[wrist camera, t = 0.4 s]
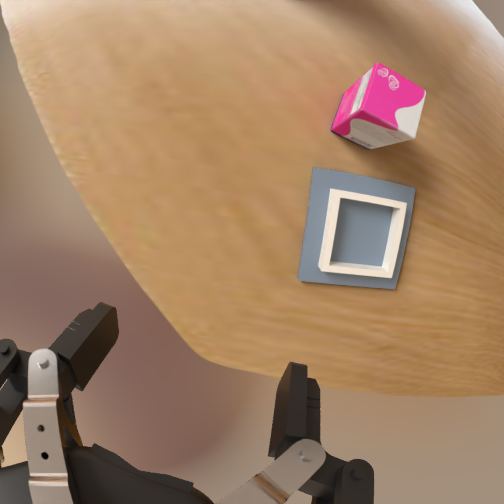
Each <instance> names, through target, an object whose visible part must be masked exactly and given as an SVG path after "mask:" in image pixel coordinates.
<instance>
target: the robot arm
mask: <svg viewBox="0 0 504 504" xmlns="http://www.w3.org/2000/svg"><path fill="white" fill-rule="evenodd" d="M118 334H119V328H118V319H117V310H116V308H115V307H112V306H110V305H107V304H105V303H102V302H100V303H99V304H98V305H97V306H96V307H95V308H94V309H93V310H91V309H88V310H86V311H84V312H82V313H80V314H79V315H78V316H77V317H76V318H75V319H74V321H73V322H72V323H71V324H70V325H69V326H68V328H66V329H65V330H64V331H63V333H62V334H61V335H60V336H59V337H58V338H57V339H56V341H55V342H54V343H53V344H52V345H51V347H49V348H48V349H39V350H37V351H35V352H33V353H30V352H26V351H22V350H19V349H18V348H17V346H16V344H15V343H14V341H12V340H10V339H2V340H0V388H1V387H2V385H3V384H4V382H5V381H6V379H7V382H6V383H5V384H4V386H3V387H2V389H1V390H0V504H214V503H213V502H212V501H211V500H210V499H209V498H208V497H207V496H206V495H205V494H204V493H202V492H201V491H199V490H197V489H196V488H194V487H193V483H192V482H189V481H185V480H182V479H179V478H176V477H173V476H170V475H166V474H158V473H151V472H145V471H140V470H137V469H136V468H135V467H133V466H132V465H130V464H129V463H128V462H126V461H125V460H124V459H122V458H121V457H120V456H118V455H117V454H115V453H113V452H111V451H109V450H107V449H104V448H103V447H101V446H99V445H97V444H93V446H92V447H86V446H83V443H82V440H81V437H80V435H79V432H78V429H77V425H76V418H75V412H74V405H73V398H72V393H71V392H72V390H73V389H74V388H77V389H78V390H80V391H83V390H84V388H85V386H86V385H87V383H88V382H89V380H90V379H91V377H92V376H93V375H94V373H95V372H96V370H97V369H98V367H99V366H100V364H101V363H102V361H103V360H104V358H105V357H106V355H107V354H108V353H109V351H110V350H111V348H112V347H113V346H114V344H115V343H116V341H117V338H118ZM22 410H23V417H24V431H25V443H26V451H27V458H28V461H25V462H22V463H18V464H15V465H11V466H7V467H3V468H2V467H1V463H3V462H4V455H3V449H2V445H3V443H4V441H5V439H6V437H7V435H8V434H9V432H10V430H11V428H12V426H13V425H14V423H15V421H16V420H17V418H18V416H19V415H20V413H21V411H22ZM268 456H269V457H275V460H274V462H273V463H271V464H270V465H269V466H268V467H266V468H265V469H264V470H263V471H261V472H260V473H259V474H257V475H255V476H254V477H252V478H251V479H250V480H248V481H247V482H245V483H244V484H243V485H241V486H240V487H238V488H237V489H236V490H234V491H233V492H232V493H230V494H228V495H227V496H225V497H224V498H223V499H221V500H220V501H218V502H216V503H215V504H284V503H285V502H286V501H287V499H288V498H289V497H290V496H291V495H292V494H293V493H294V492H296V491H297V490H299V491H301V492H304V493H306V494H309V495H312V502H311V504H373V503H374V471H373V468H372V466H371V465H370V464H369V463H368V462H367V461H365V460H362V459H354V460H351V461H349V462H346V461H344V460H341V459H338V458H336V457H333V456H331V455H330V454H328V453H327V452H326V451H325V450H324V448H323V447H322V445H321V442H320V388H319V386H318V384H317V381H316V379H312V378H307V365H303V364H298V363H294V362H289V364H288V366H287V368H286V370H285V372H284V374H283V376H282V378H281V380H280V382H279V385H278V388H277V393H276V400H275V409H274V416H273V424H272V431H271V438H270V445H269V452H268Z"/></svg>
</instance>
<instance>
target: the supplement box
mask: <svg viewBox="0 0 504 504" xmlns="http://www.w3.org/2000/svg"><path fill="white" fill-rule="evenodd" d="M425 96H426V91H425V90H424V89H422V88H421V87H419V86H418V85H416V84H414V83H413V82H411V81H410V80H408V79H406V78H405V77H403V76H401V75H400V74H398V73H396V72H394V71H393V70H391V69H389V68H387V67H386V66H384V65H382V64H380V63H378V62H377V63H376V64H375V65H374V66H373V67H371V68H370V69H369V70H368V71H367V72H366V73H365V74H364V75H363V76H362V77H361V78H360V79H359V80H358V81H357V82H356V83H355V84H354V85H352V86H351V87H350V88H349V89H348V90H347V91H346V92H345V93H344V94H343V97H342V100H341V103H340V105H339V108H338V111H337V113H336V116H335V119H334V122H333V124H332V127H331V131H332V132H333V133H336V134H338V135H340V136H342V137H344V138H346V139H348V140H350V141H352V142H354V143H356V144H359V145H361V146H363V147H365V148H367V149H369V150H371V149H374V148H378V147H383V146H387V145H391V144H395V143H399V142H404V141H408V140H413V139H415V136H416V132H417V128H418V124H419V120H420V116H421V112H422V108H423V104H424V100H425Z"/></svg>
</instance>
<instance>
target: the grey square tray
mask: <svg viewBox="0 0 504 504" xmlns="http://www.w3.org/2000/svg"><path fill="white" fill-rule="evenodd" d="M415 189H416V188H414V187H410V186H406V185H402V184H398V183H393V182H389V181H385V180H380V179H375V178H371V177H366V176H361V175H356V174H350V173H345V172H340V171H334V170H328V169H322V168H316V167H313V171H312V180H311V188H310V195H309V203H308V210H307V217H306V224H305V231H304V238H303V245H302V251H301V257H300V264H299V270H298V276H297V279H298V281H305V282H316V283H326V284H337V285H349V286H360V287H372V288H385V289H395V288H396V284H397V280H398V276H399V272H400V268H401V264H402V260H403V256H404V251H405V247H406V242H407V237H408V232H409V227H410V221H411V215H412V209H413V203H414V196H415Z"/></svg>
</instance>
